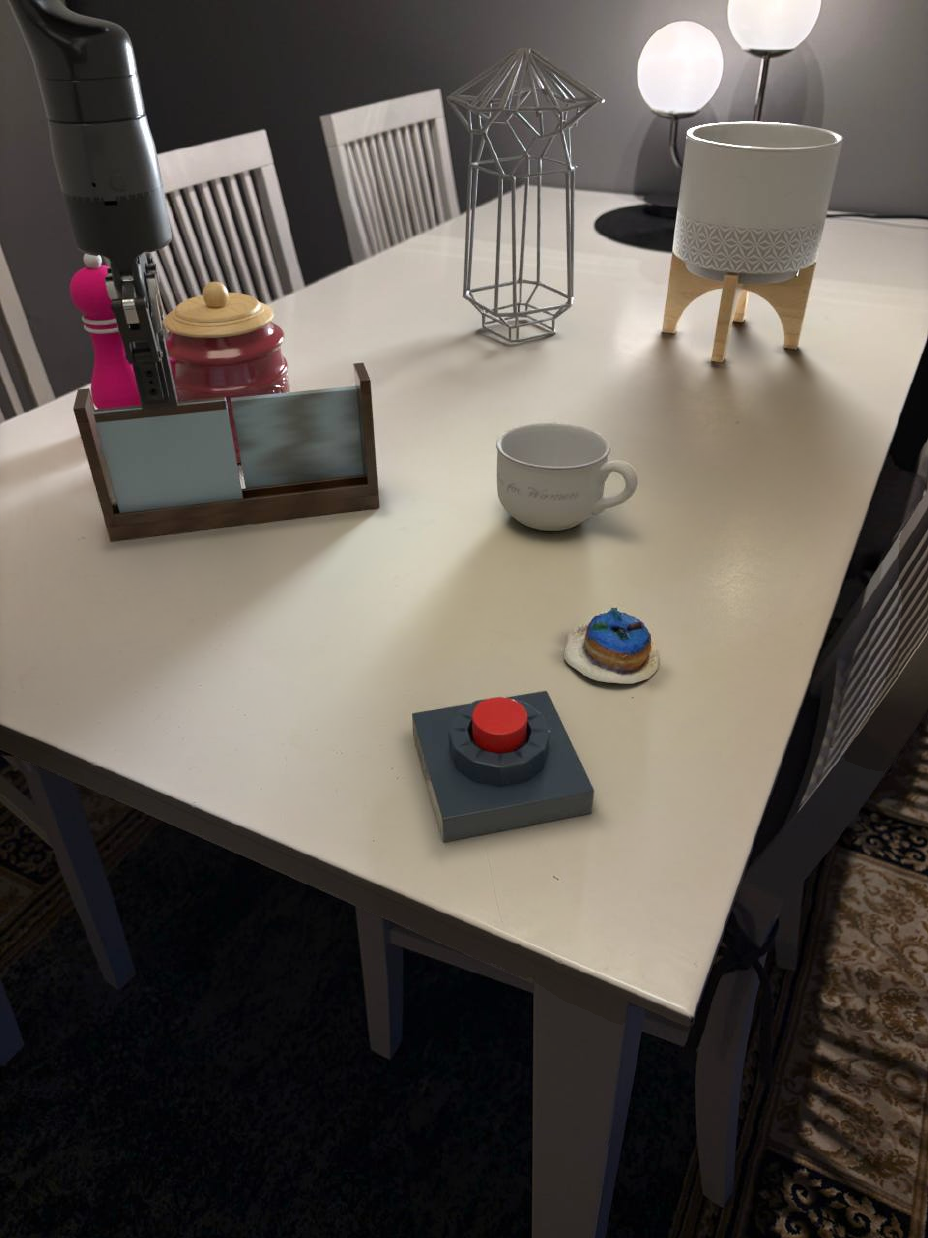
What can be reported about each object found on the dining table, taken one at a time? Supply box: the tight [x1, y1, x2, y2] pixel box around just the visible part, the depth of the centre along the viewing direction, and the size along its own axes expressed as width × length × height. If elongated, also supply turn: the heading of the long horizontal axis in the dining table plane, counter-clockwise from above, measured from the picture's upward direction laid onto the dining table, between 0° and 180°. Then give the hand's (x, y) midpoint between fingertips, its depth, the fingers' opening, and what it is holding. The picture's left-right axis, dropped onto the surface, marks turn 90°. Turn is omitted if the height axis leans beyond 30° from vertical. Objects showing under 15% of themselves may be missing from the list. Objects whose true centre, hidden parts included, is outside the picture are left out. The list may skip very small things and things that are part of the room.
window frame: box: [72, 362, 381, 542], centre depth 87 cm, size 26×4×14 cm, turn 104°
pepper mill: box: [69, 253, 141, 409], centre depth 101 cm, size 7×7×20 cm
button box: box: [411, 690, 595, 843], centre depth 61 cm, size 10×10×4 cm
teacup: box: [495, 422, 639, 532], centre depth 87 cm, size 14×11×8 cm
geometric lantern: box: [445, 47, 606, 343], centre depth 122 cm, size 16×16×35 cm
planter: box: [661, 121, 844, 363], centre depth 121 cm, size 19×19×26 cm
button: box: [472, 696, 527, 754], centre depth 60 cm, size 4×4×2 cm
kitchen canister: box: [163, 281, 291, 464], centre depth 99 cm, size 13×13×18 cm
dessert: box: [563, 606, 660, 685], centre depth 72 cm, size 8×7×6 cm
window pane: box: [93, 333, 243, 513], centre depth 83 cm, size 12×2×17 cm, turn 104°
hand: (157, 391), depth 81 cm, fingers open, 4 cm apart
